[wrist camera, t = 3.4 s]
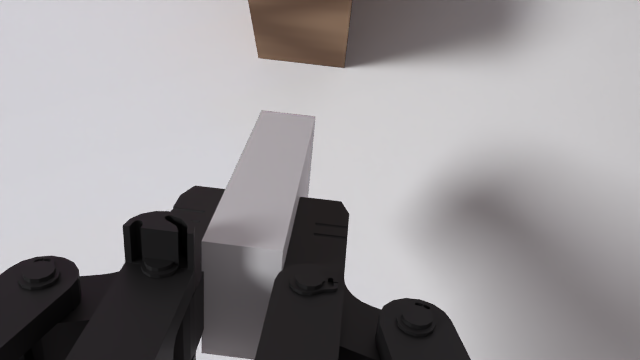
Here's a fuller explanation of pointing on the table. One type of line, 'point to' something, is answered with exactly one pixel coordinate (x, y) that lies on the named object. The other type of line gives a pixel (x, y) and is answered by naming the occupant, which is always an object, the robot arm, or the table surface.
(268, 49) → the t block
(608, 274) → the table surface
